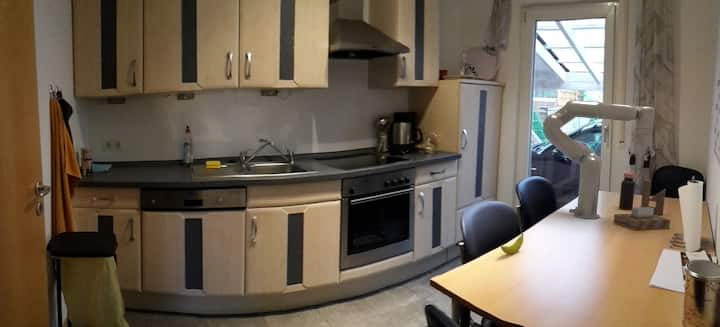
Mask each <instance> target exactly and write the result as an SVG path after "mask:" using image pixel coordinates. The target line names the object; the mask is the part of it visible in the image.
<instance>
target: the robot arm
mask: <svg viewBox="0 0 720 327" xmlns="http://www.w3.org/2000/svg"><path fill="white" fill-rule="evenodd" d="M655 115H656V109H655V107H652V106H636V105H631V104H626V105H625V104H611V103H606V102H601V101H591V100H590V101H589V100H576V99H572V100H571V99H570V100H569V101H567V102H566V103H565V104H564V106H562V107H561V108H560V109H558V110H557V111H555V112H553V113H552V114H551V113H550V114H549V115H547V116H546V117H545V119H544V121H543V123H542V124H543V125H542V131H543V135H544V137H545V138H546V139H547V141H548V142H549V143H550V144H551V145H553V146H554V147H555V148H556V149H557V150H558V151H559V152H561V154H563V155H564V156H565V157H566V158H567V159H569V160H571V161H575V162H576V163H577V164H578V165H580V166H579V182H578V183H579V184H578V193H577V194H578V197H577V206H575V208H570V209H568V212H569V214H570V213H571V214H573V216H575V217H577V218H579V219H580V218H581V219H588V220H597V219H600V218H601V215H600V214H599V213H598V206H599V196H600V195H599V191H600V182H601V181H600V180H601V170H602V166H603V160H602V159H601V157H600V156H599V155H598V154H596V153H595V152H594V151H593V150H592V149H591V148H589V147H588V146H586V144H584V143H582V142H580V141H577V140H574V139H572V138H571V137H570V136H569V135H568V134H567V133H565V132H564V131H563V130H562V129H561V128H563V127H564V126H565V125H567V124H568V123H570V122H571V121H573V120H574V119H575V118H586V119H595V120H596V119H597V120H612V121H615V120H616V121H622V122H623V121H624V122H630V121H635V128H634V129H635V130H634V133H633V135H632V137H631V142H630V146H628V147H627V150H628V156H629V162H628V165H629V166H635V165H636V164H637V162H636V161H637V156H643V158H644V160H643V164H642V168H643V169H650V167H651V161H652V159H653V158H654V156H655V154H656V152H655V151H654V150H653V130H654V123H655V122H654V121H655Z"/></svg>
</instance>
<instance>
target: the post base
mask: <svg viewBox="0 0 720 327" xmlns="http://www.w3.org/2000/svg"><path fill="white" fill-rule="evenodd" d="M613 224H614V225H617V226H619V227H620V226H621V227H623V228H625V229H629V230H632V231H637V232H638V231H652V230H655V231H656V230H670V226H671V219H669V218H667V217H663V216H661V215H655V214H653V218H643V219H636V218H633V217H631V213H617V214H616V213H615V214H614V216H613Z"/></svg>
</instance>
